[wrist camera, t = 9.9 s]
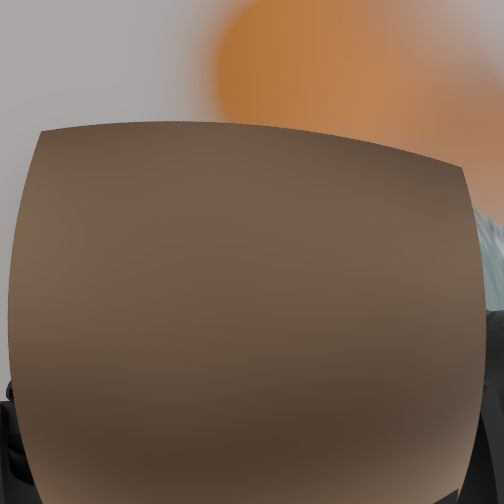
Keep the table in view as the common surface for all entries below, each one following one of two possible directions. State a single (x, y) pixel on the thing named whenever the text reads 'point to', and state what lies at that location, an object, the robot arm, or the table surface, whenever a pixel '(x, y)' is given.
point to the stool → (243, 318)
